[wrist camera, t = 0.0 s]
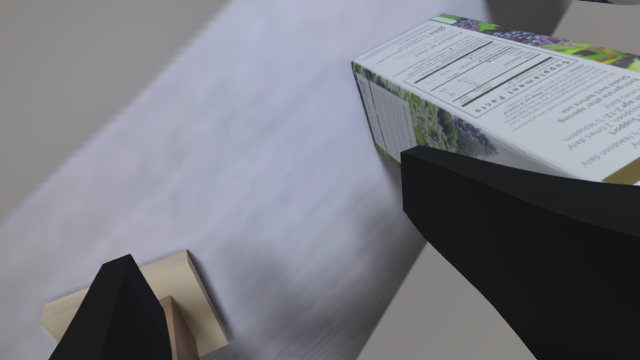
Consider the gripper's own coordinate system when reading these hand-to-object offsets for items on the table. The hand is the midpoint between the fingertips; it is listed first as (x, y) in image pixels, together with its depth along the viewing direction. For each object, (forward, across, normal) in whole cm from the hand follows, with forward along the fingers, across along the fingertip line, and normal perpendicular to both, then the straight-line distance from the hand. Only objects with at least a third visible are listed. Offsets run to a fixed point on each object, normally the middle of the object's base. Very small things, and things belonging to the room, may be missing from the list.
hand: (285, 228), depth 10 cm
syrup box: (+10, -10, +2) cm, 14 cm away
